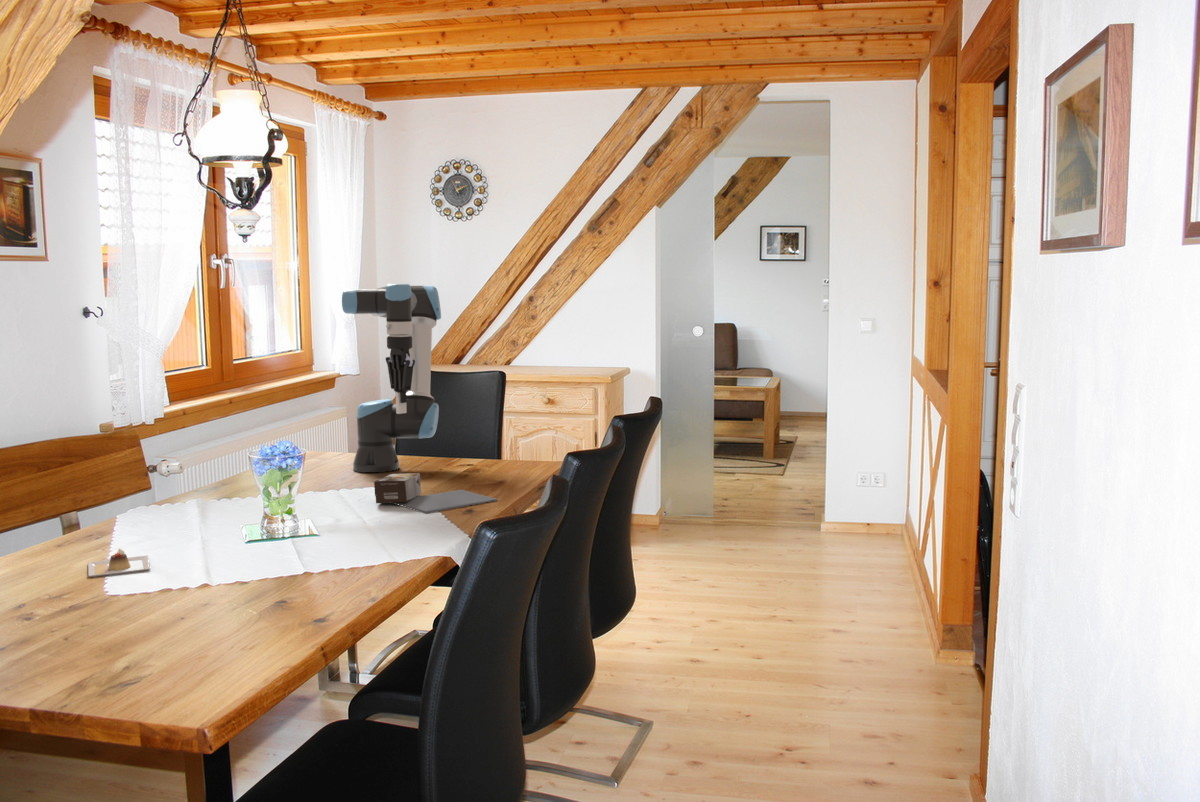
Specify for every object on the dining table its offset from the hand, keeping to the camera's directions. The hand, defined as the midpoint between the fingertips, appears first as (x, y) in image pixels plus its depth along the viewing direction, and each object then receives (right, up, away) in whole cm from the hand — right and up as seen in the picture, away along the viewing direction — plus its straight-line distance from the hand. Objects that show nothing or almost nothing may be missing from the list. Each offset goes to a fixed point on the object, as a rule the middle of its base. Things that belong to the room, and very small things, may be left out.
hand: (401, 413), depth 300 cm
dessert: (-44, -33, -85) cm, 101 cm away
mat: (+16, -25, -17) cm, 34 cm away
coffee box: (+3, -21, -8) cm, 22 cm away
